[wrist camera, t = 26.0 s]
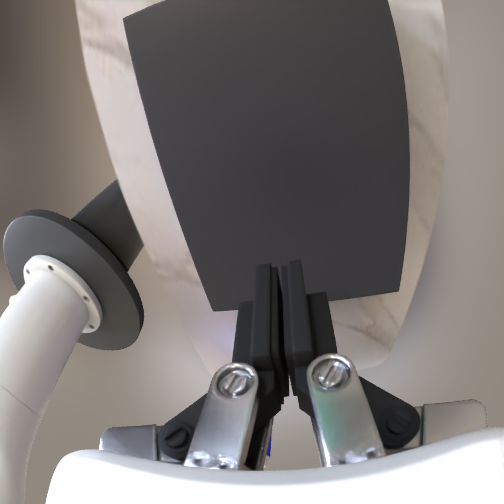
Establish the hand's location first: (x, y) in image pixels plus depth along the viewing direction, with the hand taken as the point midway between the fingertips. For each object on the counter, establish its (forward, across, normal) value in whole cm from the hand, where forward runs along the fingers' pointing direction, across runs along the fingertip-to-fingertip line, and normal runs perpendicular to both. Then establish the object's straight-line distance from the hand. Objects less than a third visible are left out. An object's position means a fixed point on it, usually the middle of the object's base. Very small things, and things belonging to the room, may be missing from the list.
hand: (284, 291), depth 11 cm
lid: (+7, -1, -3) cm, 8 cm away
